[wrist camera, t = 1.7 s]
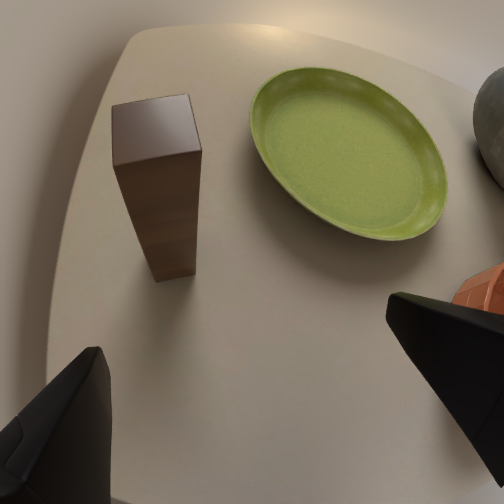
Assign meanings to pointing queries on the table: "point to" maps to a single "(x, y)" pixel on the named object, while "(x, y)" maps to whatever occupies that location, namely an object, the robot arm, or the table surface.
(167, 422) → the table surface
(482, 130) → the bowl
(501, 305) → the mixing bowl
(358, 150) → the saucer
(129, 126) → the block
